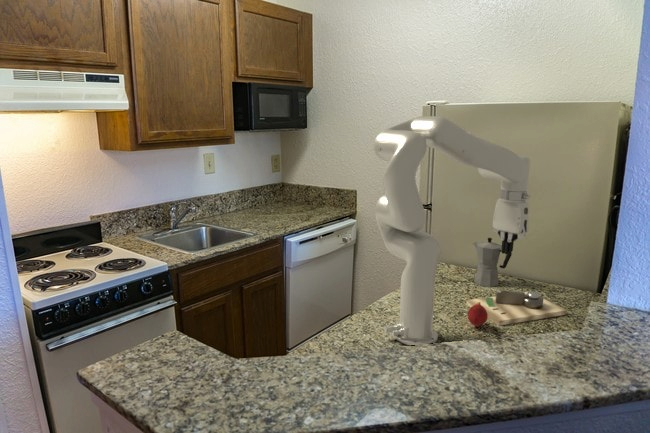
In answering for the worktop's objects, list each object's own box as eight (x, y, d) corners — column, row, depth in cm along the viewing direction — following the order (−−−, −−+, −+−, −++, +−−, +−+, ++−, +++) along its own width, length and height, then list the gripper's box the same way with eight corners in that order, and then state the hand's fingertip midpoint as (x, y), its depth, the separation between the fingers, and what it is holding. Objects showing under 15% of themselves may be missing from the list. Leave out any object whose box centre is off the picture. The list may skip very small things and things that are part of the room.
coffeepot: (464, 281, 181) (467, 236, 177) (476, 275, 187) (480, 232, 183) (502, 292, 170) (506, 244, 166) (514, 285, 176) (518, 240, 172)
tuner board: (499, 325, 143) (499, 320, 143) (466, 304, 159) (466, 299, 158) (566, 314, 151) (566, 309, 150) (528, 295, 167) (529, 290, 166)
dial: (540, 301, 156) (541, 290, 156) (544, 309, 150) (546, 297, 149) (494, 298, 160) (495, 286, 159) (496, 305, 153) (497, 293, 153)
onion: (487, 331, 139) (489, 306, 137) (467, 330, 140) (469, 305, 138) (485, 323, 145) (487, 299, 143) (466, 321, 146) (467, 297, 144)
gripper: (542, 198, 140) (535, 257, 144) (498, 191, 151) (492, 246, 155) (529, 200, 135) (522, 261, 139) (484, 193, 147) (479, 249, 151)
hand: (506, 253), depth 147 cm, fingers closed
